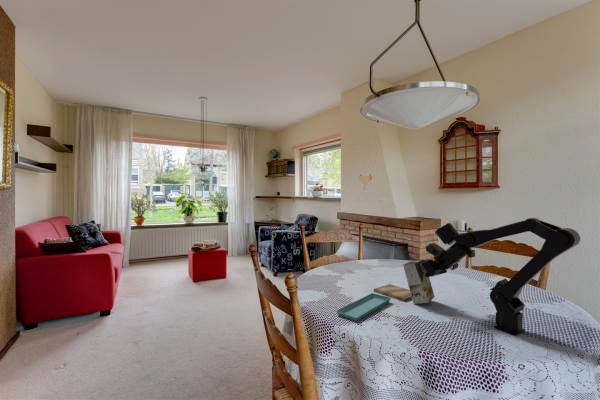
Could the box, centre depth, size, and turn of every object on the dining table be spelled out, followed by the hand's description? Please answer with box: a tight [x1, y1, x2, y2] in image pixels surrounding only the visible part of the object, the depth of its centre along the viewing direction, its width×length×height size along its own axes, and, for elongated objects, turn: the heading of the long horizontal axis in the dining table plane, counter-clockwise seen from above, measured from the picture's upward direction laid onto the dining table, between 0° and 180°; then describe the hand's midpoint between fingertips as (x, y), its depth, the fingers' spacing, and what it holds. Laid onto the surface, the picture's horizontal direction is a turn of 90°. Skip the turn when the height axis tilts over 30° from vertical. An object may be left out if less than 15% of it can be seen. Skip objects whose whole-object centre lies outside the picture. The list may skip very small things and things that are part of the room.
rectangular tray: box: [336, 292, 392, 322], centre depth 116 cm, size 26×9×2 cm, turn 136°
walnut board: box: [373, 283, 412, 302], centre depth 133 cm, size 16×12×1 cm
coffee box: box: [402, 259, 435, 305], centre depth 124 cm, size 9×6×16 cm
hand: (425, 276), depth 122 cm, fingers closed
